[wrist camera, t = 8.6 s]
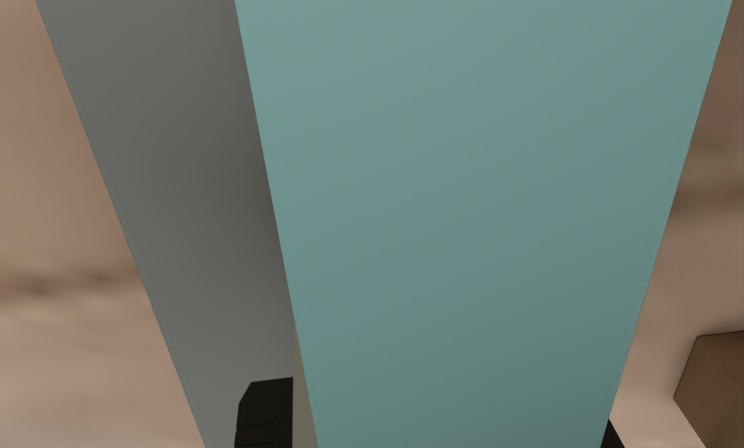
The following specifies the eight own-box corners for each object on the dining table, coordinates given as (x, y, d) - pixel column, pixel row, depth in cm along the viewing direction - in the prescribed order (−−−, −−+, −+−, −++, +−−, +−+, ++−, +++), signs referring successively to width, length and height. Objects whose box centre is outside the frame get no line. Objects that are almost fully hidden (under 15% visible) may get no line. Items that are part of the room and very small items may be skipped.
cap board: (768, -610, 9) (812, -656, 8) (546, 459, 27) (553, 478, 26) (-157, -586, 9) (-206, -634, 8) (235, 499, 26) (233, 521, 25)
